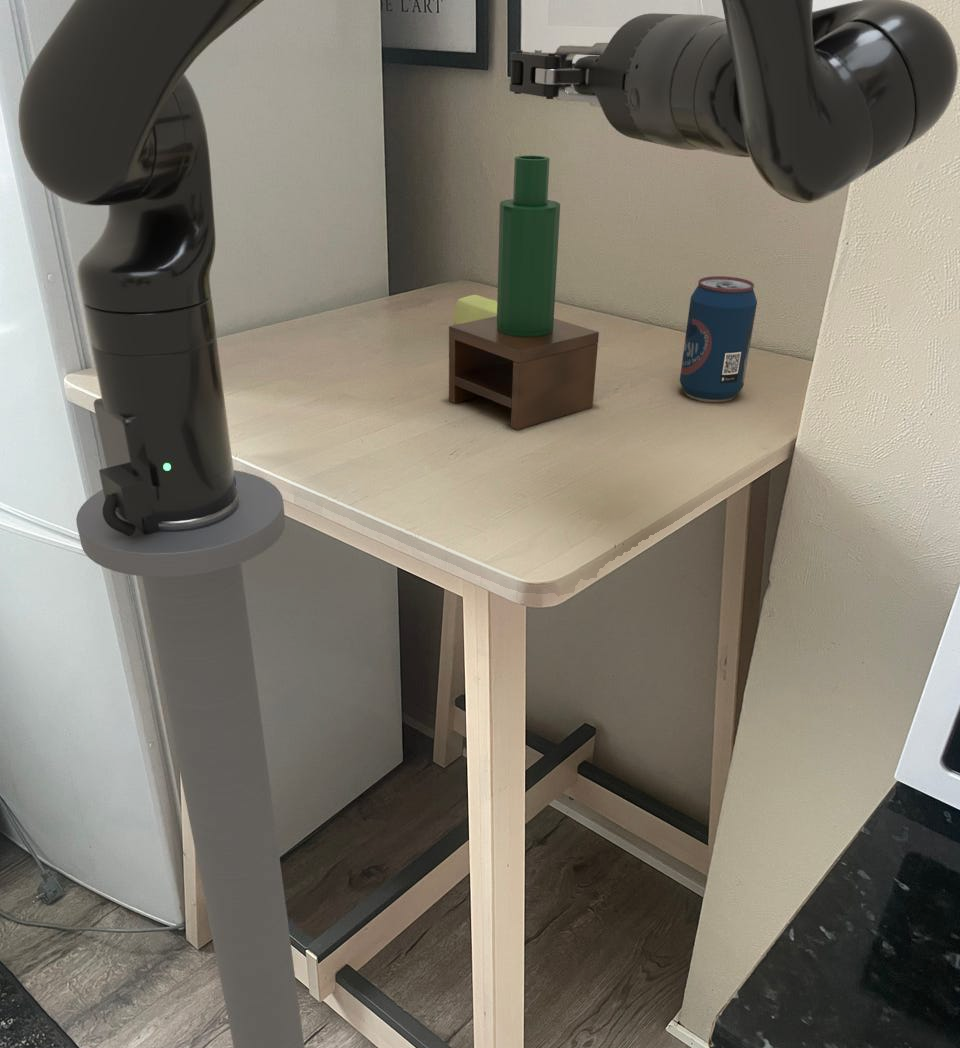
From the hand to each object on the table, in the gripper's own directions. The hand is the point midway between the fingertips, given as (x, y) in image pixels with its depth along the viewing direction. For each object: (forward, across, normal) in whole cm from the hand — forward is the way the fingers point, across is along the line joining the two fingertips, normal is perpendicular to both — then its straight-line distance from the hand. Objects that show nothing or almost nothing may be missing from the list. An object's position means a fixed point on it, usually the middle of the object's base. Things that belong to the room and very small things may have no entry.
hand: (567, 67), depth 77 cm
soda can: (+9, -25, +32) cm, 42 cm away
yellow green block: (+36, -12, +32) cm, 49 cm away
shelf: (+13, -3, +32) cm, 35 cm away
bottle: (+13, -4, +24) cm, 28 cm away
